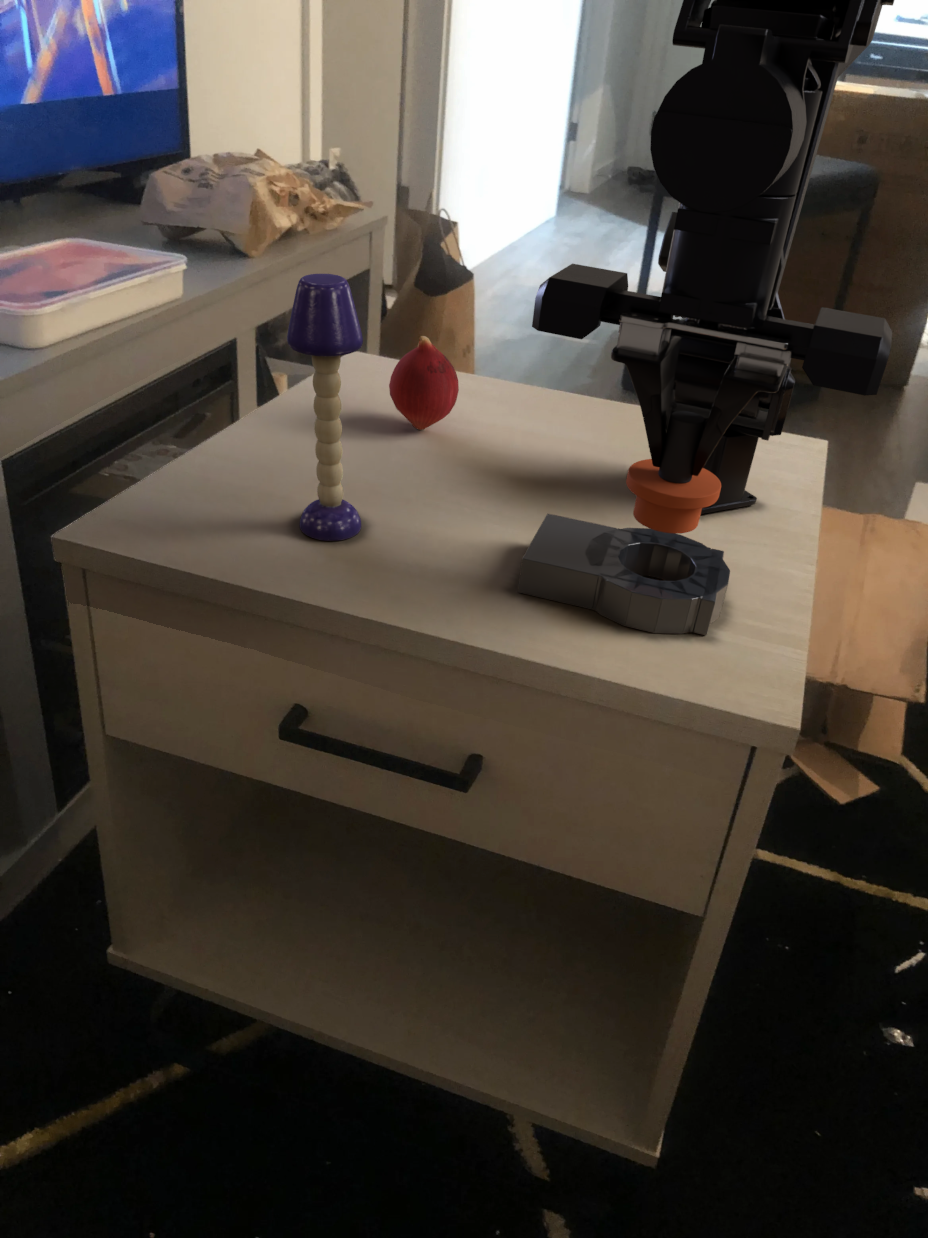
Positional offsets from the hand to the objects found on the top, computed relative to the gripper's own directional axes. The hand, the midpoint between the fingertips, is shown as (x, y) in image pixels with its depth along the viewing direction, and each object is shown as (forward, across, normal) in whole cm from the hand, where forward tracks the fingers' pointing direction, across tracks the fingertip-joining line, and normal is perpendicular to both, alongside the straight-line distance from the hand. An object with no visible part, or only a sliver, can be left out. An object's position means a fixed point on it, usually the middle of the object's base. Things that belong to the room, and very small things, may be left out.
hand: (676, 469), depth 57 cm
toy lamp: (+9, +22, +3) cm, 24 cm away
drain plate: (+9, +2, 0) cm, 9 cm away
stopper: (+3, 0, 0) cm, 3 cm away
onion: (+9, +24, -18) cm, 31 cm away
